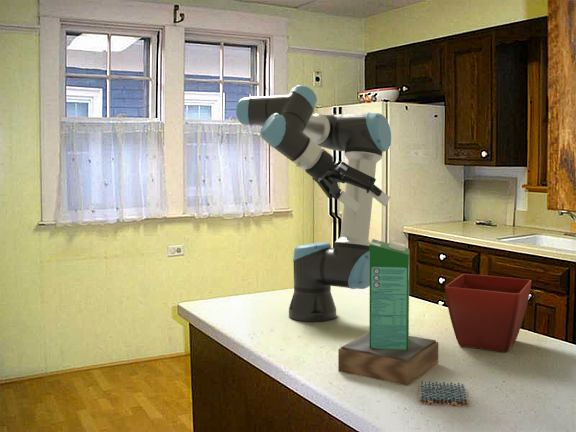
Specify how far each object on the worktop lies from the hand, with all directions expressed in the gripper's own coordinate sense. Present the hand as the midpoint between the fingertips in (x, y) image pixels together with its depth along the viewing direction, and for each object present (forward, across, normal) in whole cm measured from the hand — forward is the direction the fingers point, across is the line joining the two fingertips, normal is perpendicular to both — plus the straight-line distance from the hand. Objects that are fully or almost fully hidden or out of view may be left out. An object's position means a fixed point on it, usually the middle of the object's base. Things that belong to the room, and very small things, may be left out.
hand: (372, 205), depth 180 cm
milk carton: (+14, +13, -34) cm, 39 cm away
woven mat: (+19, +32, -43) cm, 57 cm away
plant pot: (+45, +10, -17) cm, 49 cm away
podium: (+18, +11, -38) cm, 43 cm away
